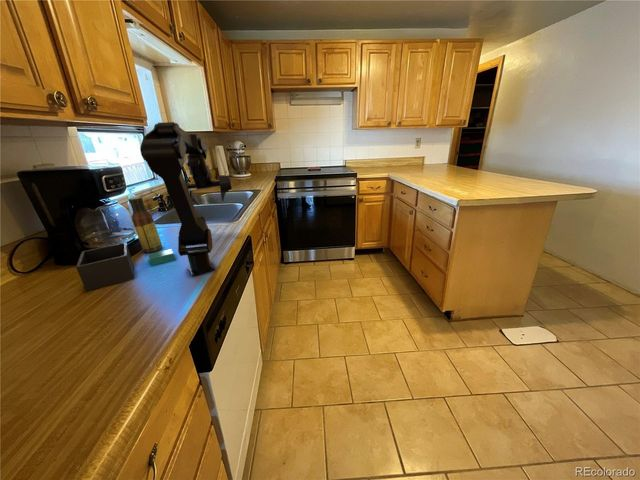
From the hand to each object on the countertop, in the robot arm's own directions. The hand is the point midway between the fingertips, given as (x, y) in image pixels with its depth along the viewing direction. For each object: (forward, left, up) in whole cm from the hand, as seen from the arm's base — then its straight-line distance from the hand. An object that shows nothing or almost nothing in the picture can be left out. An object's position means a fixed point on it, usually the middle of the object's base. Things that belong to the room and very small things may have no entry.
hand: (210, 202), depth 104 cm
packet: (-12, +21, -14) cm, 28 cm away
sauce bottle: (+1, +23, -14) cm, 27 cm away
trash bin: (-14, +35, -14) cm, 40 cm away
